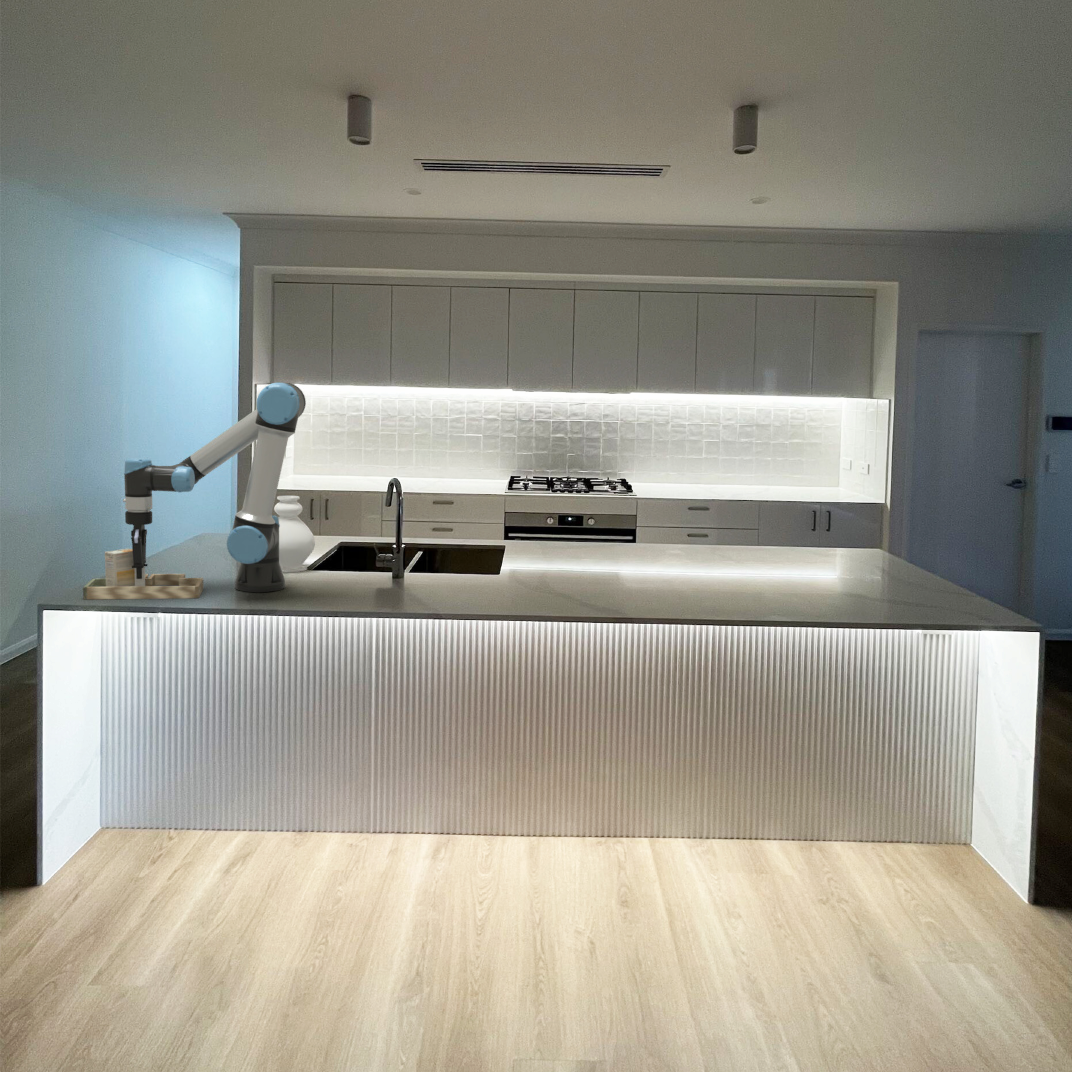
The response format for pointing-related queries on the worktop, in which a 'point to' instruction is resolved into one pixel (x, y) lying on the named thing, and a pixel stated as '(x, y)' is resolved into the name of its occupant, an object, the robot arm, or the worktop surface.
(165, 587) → the tray
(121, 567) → the supplement box
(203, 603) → the worktop surface
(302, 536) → the decorative vase
